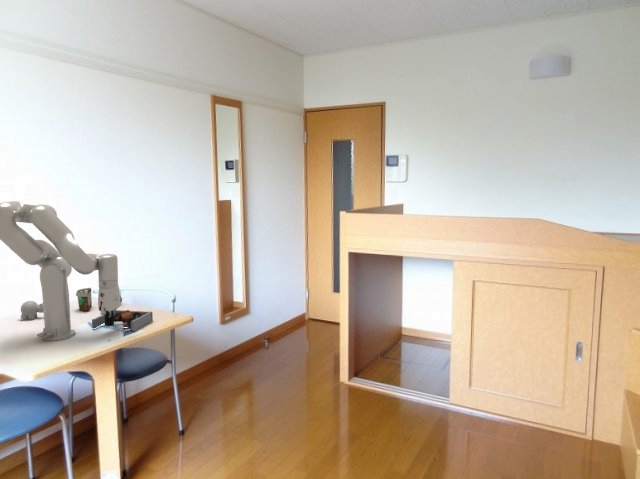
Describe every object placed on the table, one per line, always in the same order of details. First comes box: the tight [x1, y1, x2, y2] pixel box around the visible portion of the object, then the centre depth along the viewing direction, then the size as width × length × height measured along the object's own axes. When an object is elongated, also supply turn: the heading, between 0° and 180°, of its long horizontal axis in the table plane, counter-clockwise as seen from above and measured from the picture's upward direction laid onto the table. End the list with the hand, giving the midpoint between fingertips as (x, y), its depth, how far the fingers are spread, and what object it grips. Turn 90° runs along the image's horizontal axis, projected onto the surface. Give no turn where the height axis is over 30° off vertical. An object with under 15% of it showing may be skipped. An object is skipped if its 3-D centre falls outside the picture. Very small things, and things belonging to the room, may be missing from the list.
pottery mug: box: [114, 309, 142, 329], centre depth 213 cm, size 12×9×8 cm
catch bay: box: [91, 309, 154, 332], centre depth 213 cm, size 16×19×4 cm
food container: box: [75, 287, 93, 313], centre depth 239 cm, size 12×6×10 cm, turn 17°
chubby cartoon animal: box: [20, 300, 44, 321], centre depth 224 cm, size 7×12×8 cm, turn 101°
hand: (109, 325), depth 203 cm, fingers closed
